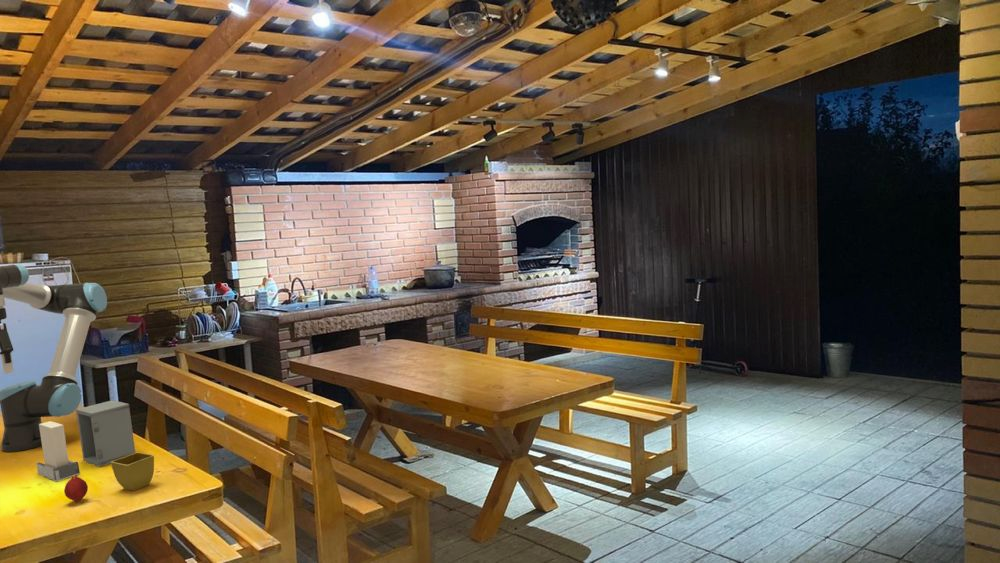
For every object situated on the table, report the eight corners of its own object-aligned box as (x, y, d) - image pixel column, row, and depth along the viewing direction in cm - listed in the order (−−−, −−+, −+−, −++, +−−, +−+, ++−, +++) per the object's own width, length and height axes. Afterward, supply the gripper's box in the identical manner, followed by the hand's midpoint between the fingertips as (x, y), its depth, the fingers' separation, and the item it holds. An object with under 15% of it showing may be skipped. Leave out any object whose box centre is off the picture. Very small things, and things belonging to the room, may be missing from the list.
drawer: (37, 473, 242) (36, 461, 242) (60, 466, 248) (58, 455, 247) (56, 481, 233) (54, 469, 233) (79, 474, 238) (78, 462, 238)
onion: (72, 498, 217) (68, 472, 216) (92, 496, 217) (89, 470, 217) (62, 506, 211) (58, 479, 210) (83, 504, 212) (79, 477, 211)
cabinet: (83, 461, 252) (75, 409, 250) (119, 450, 261) (112, 400, 259) (100, 467, 244) (92, 414, 242) (137, 456, 253) (130, 404, 251)
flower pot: (131, 495, 216) (126, 465, 215) (113, 490, 221) (109, 461, 220) (158, 484, 224) (154, 455, 223) (141, 480, 228) (137, 451, 227)
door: (45, 471, 242) (38, 424, 240) (58, 468, 245) (51, 420, 243) (58, 477, 236) (51, 428, 234) (71, 473, 239) (64, 424, 237)
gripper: (-35, 309, 252) (-25, 370, 255) (-8, 311, 237) (2, 376, 239) (-9, 305, 258) (0, 365, 260) (18, 307, 243) (28, 371, 245)
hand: (1, 371), depth 250 cm, fingers open, 13 cm apart
